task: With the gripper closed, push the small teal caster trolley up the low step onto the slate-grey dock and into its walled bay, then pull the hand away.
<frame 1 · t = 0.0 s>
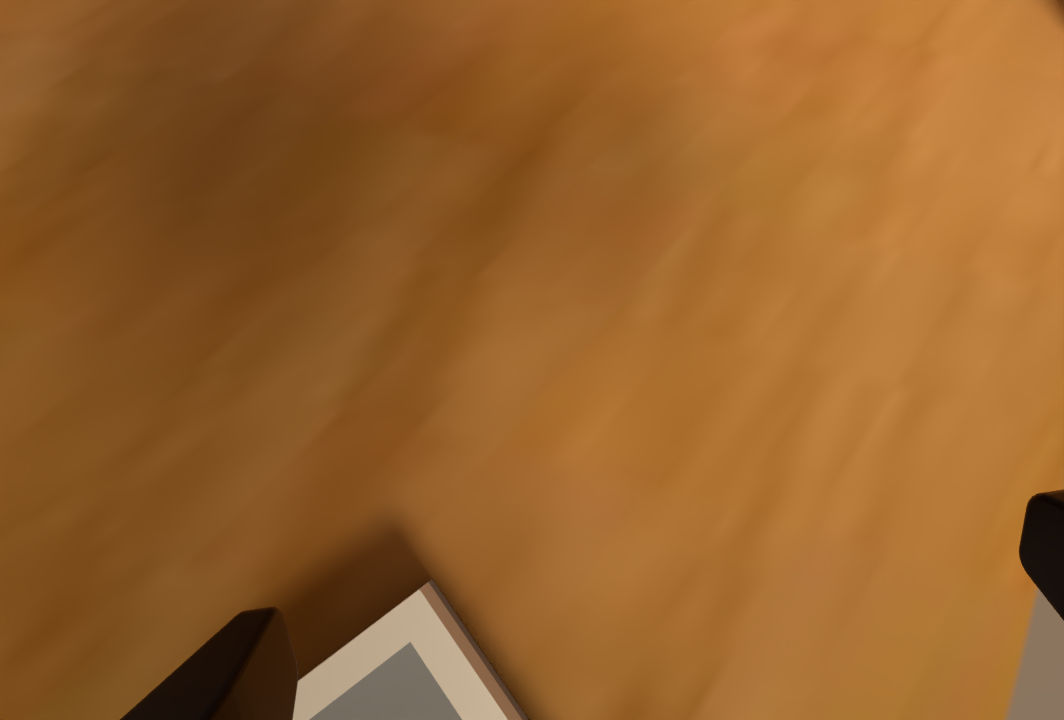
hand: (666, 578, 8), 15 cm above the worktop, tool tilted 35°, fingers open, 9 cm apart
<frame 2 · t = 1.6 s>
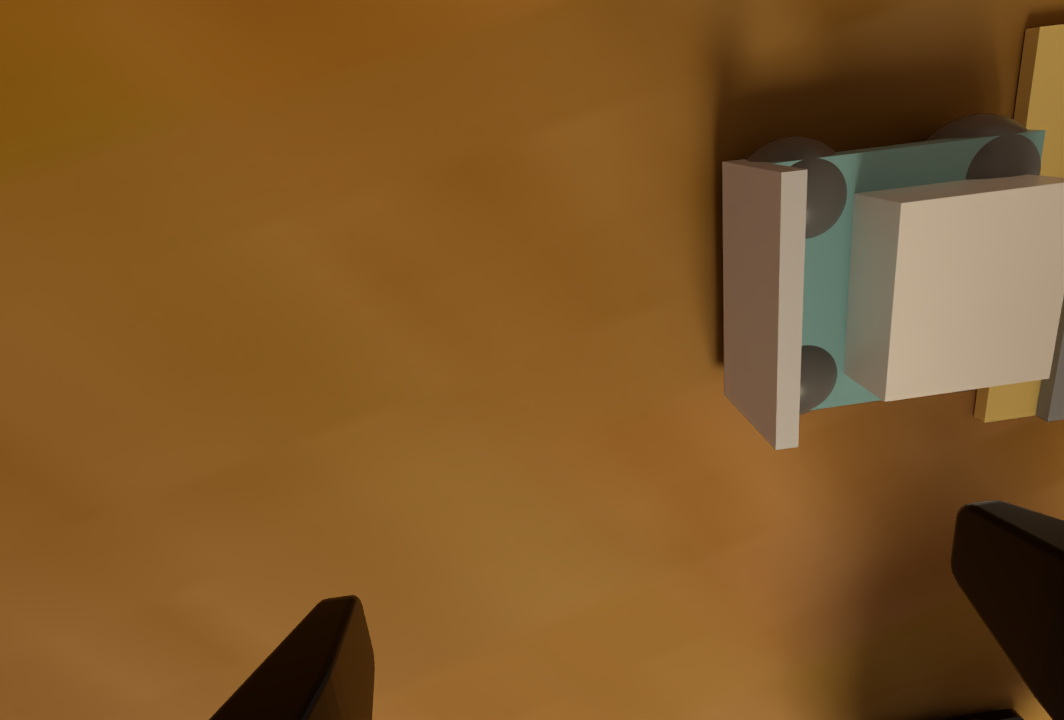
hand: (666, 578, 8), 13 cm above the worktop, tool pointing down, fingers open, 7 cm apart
trolley: (847, 261, 21), on the worktop
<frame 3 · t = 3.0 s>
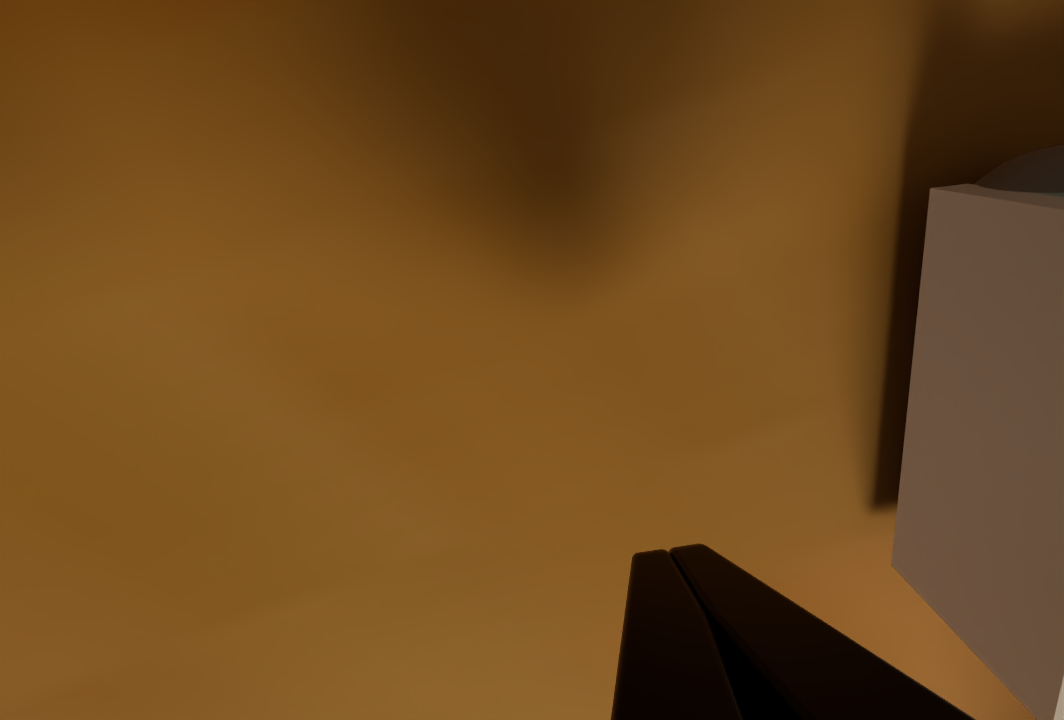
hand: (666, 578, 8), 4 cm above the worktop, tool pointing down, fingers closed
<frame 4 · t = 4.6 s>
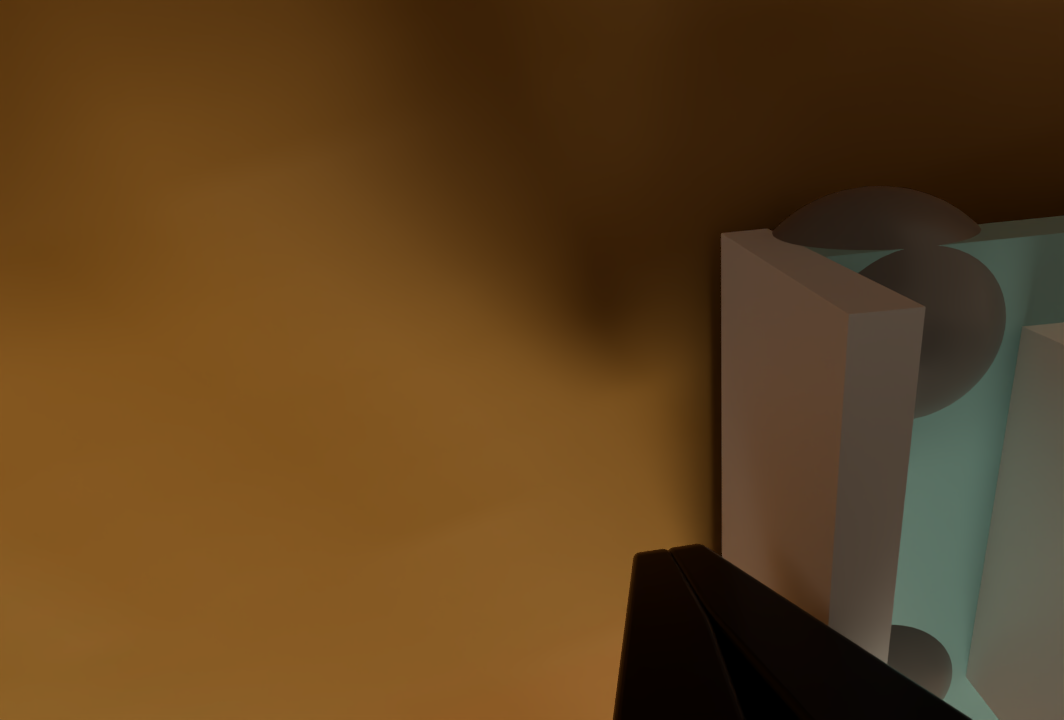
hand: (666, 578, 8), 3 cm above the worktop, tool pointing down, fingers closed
trolley: (974, 417, 11), on the worktop
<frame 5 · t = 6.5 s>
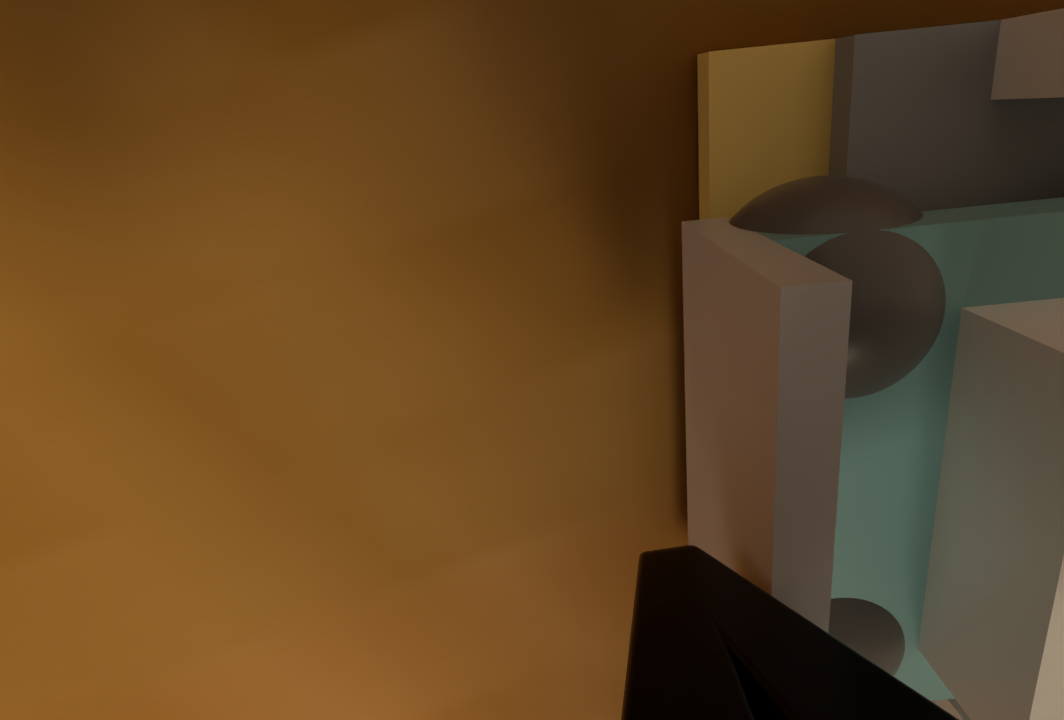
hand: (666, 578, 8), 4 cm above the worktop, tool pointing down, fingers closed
trolley: (930, 402, 11), point 1 cm above the worktop, touching dock, gripper
dock: (965, 394, 12), on the worktop
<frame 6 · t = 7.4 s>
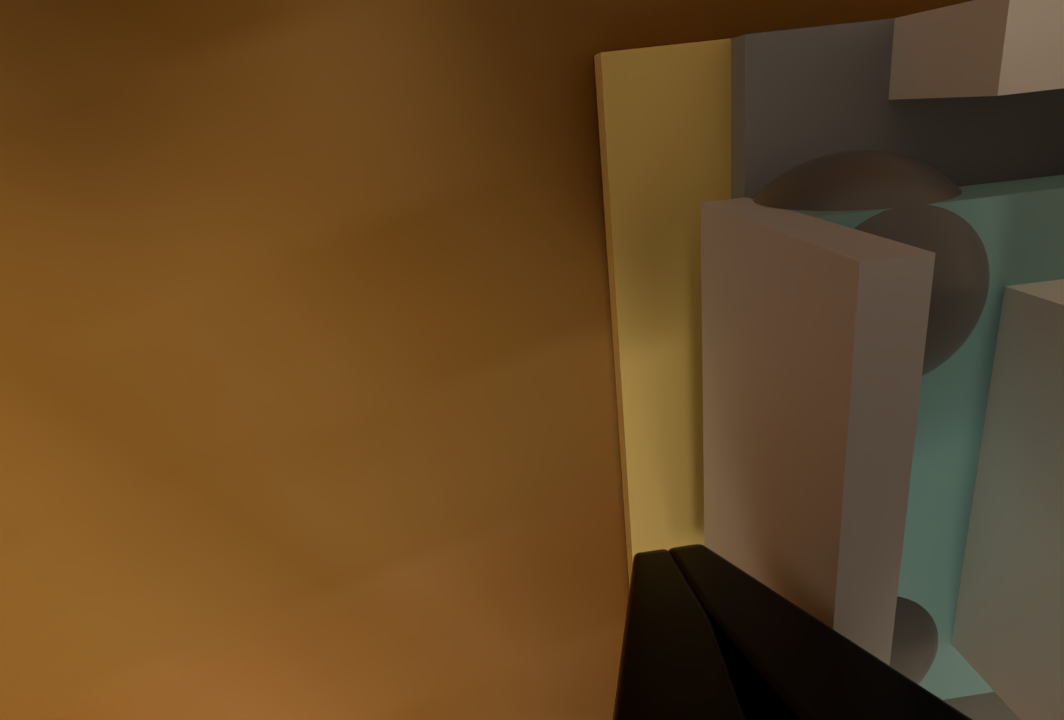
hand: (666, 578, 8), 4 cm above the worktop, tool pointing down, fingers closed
trolley: (943, 388, 11), point 1 cm above the worktop, touching dock, gripper
dock: (886, 397, 12), on the worktop
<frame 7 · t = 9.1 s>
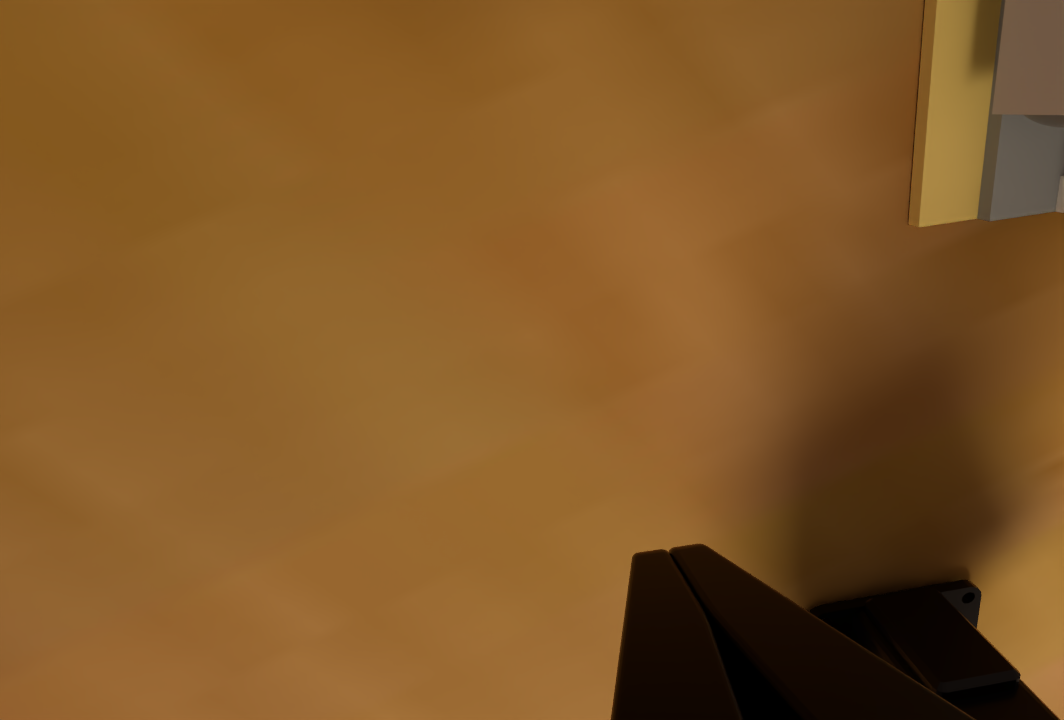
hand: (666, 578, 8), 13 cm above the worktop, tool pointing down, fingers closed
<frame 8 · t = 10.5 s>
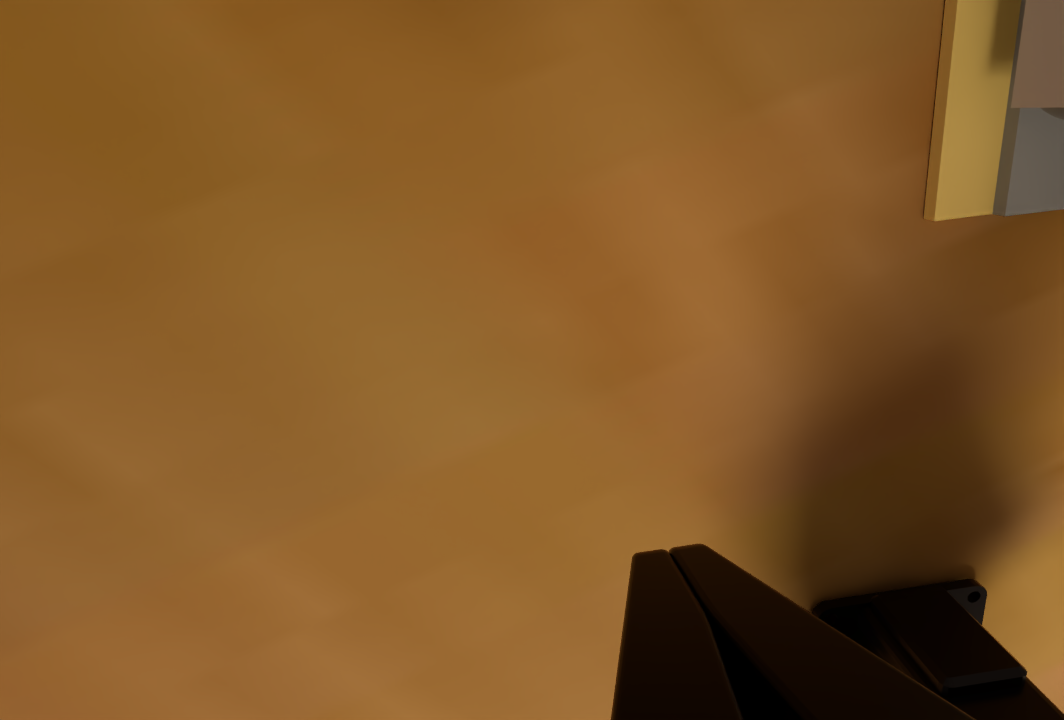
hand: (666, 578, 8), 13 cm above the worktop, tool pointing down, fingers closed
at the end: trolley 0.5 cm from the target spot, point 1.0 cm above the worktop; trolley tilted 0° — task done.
